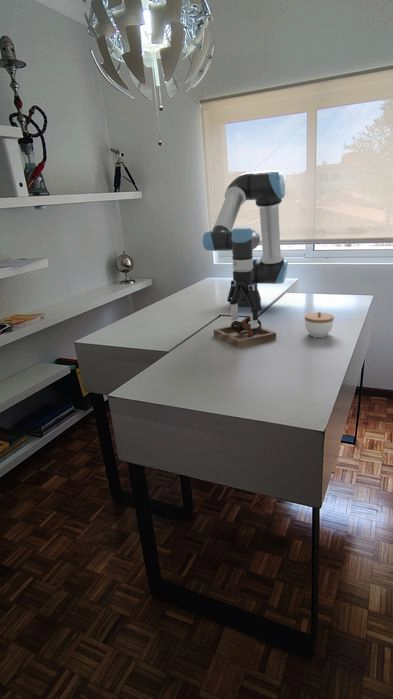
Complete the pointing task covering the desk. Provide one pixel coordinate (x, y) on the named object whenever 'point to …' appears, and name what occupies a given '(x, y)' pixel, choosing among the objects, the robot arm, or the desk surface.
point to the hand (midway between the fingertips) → (244, 323)
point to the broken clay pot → (245, 327)
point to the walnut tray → (244, 336)
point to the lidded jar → (319, 324)
